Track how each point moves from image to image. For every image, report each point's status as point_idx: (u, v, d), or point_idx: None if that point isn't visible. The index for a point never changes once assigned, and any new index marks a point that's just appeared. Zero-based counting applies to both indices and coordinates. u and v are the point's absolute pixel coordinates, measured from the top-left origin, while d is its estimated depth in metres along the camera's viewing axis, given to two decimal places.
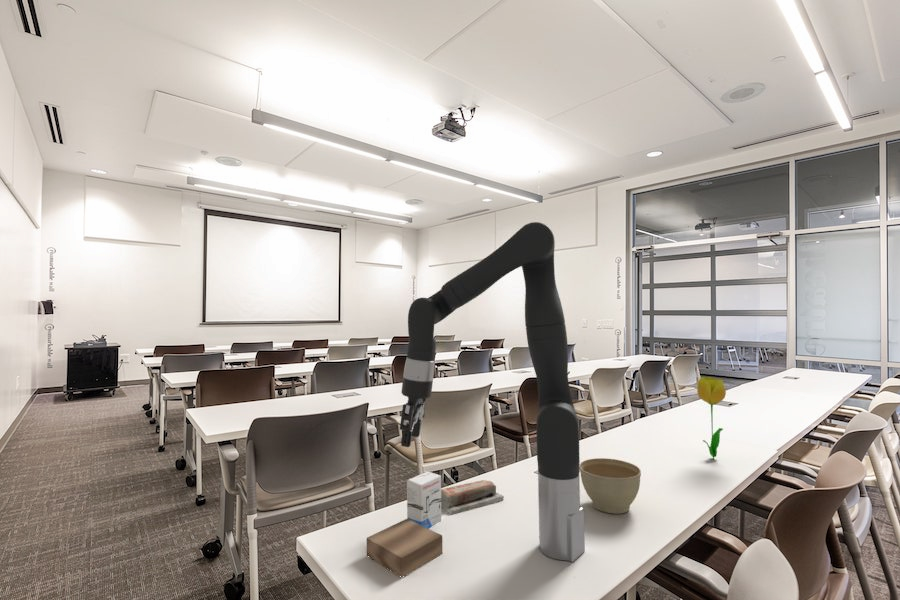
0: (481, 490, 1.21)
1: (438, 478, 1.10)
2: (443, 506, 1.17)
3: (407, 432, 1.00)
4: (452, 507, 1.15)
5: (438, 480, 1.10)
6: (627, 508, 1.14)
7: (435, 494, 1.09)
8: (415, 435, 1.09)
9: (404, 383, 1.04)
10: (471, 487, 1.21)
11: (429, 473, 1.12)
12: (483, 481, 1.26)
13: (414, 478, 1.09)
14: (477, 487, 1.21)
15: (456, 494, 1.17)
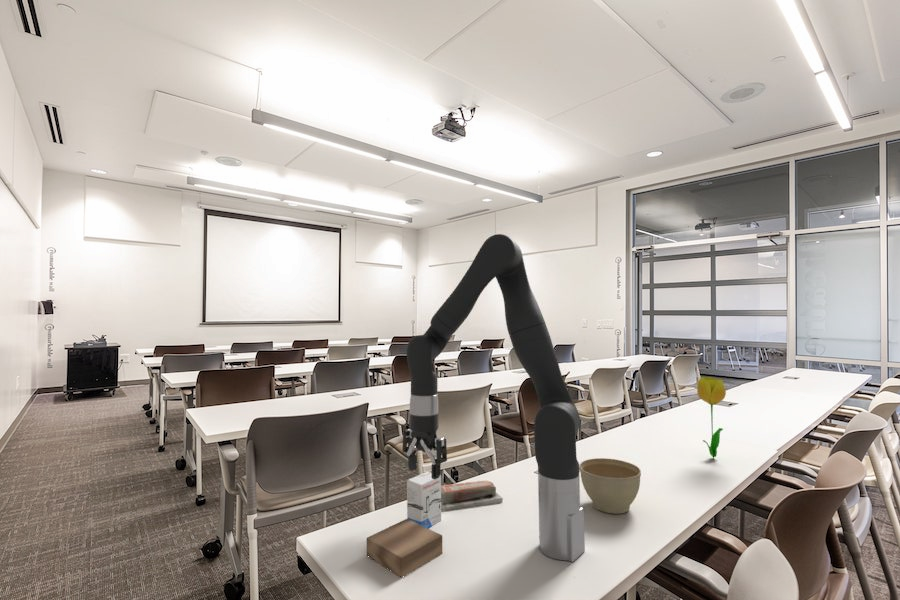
0: (478, 489, 1.21)
1: (438, 478, 1.10)
2: None
3: (439, 464, 1.06)
4: (446, 504, 1.17)
5: (438, 480, 1.10)
6: (627, 508, 1.14)
7: (435, 494, 1.09)
8: (414, 468, 1.12)
9: (423, 421, 1.06)
10: (469, 487, 1.22)
11: (429, 473, 1.12)
12: (485, 481, 1.26)
13: (414, 478, 1.09)
14: (475, 487, 1.22)
15: (451, 491, 1.19)
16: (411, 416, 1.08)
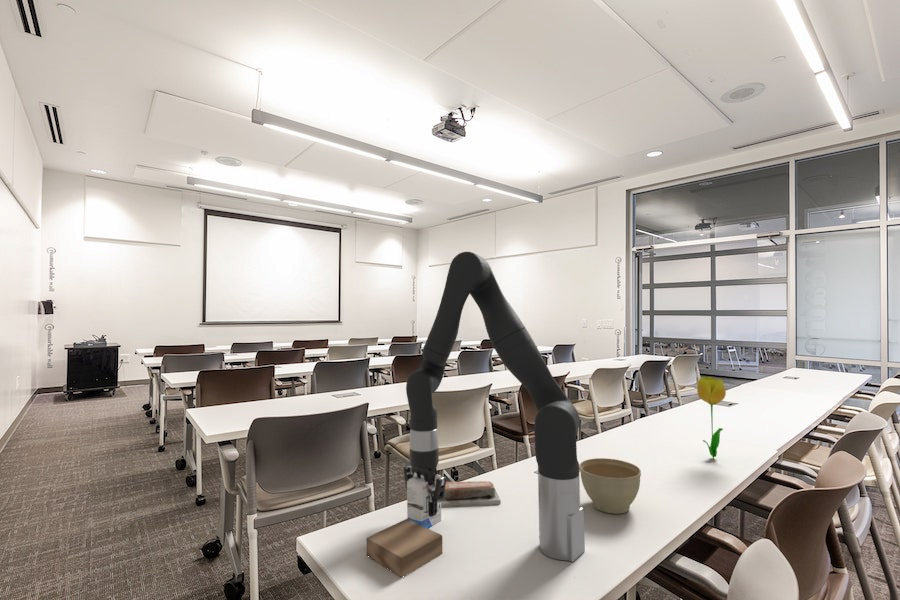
0: (476, 489, 1.21)
1: None
2: None
3: (436, 501, 1.07)
4: (442, 500, 1.20)
5: None
6: (627, 508, 1.14)
7: None
8: None
9: (423, 456, 1.06)
10: (467, 485, 1.22)
11: None
12: (486, 482, 1.26)
13: None
14: (473, 486, 1.22)
15: (448, 488, 1.21)
16: (411, 451, 1.08)
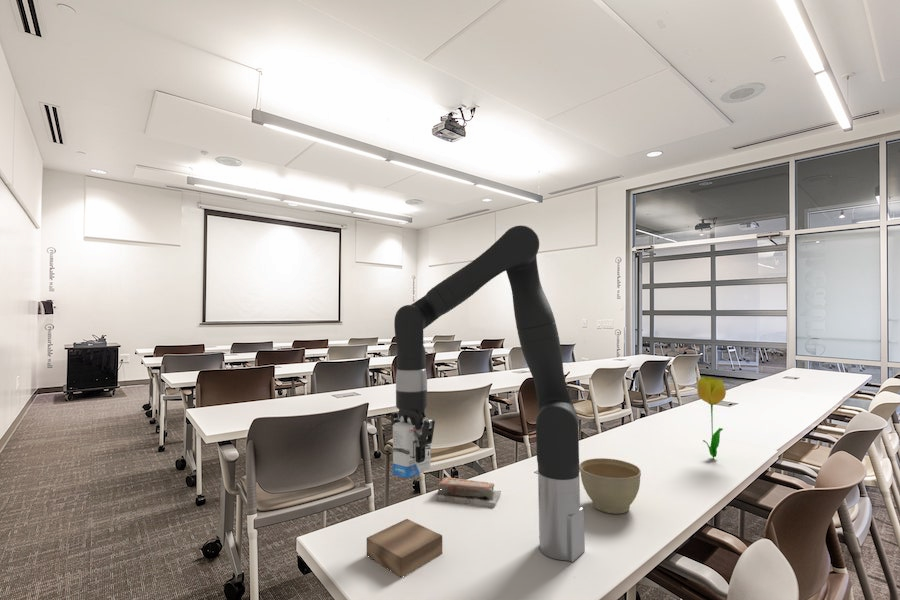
0: (473, 489, 1.22)
1: None
2: None
3: (423, 447, 0.99)
4: (440, 494, 1.24)
5: None
6: (627, 508, 1.14)
7: None
8: None
9: (410, 397, 0.98)
10: (466, 484, 1.24)
11: None
12: (488, 483, 1.24)
13: (401, 422, 1.01)
14: (471, 485, 1.23)
15: (447, 484, 1.24)
16: (397, 393, 1.00)
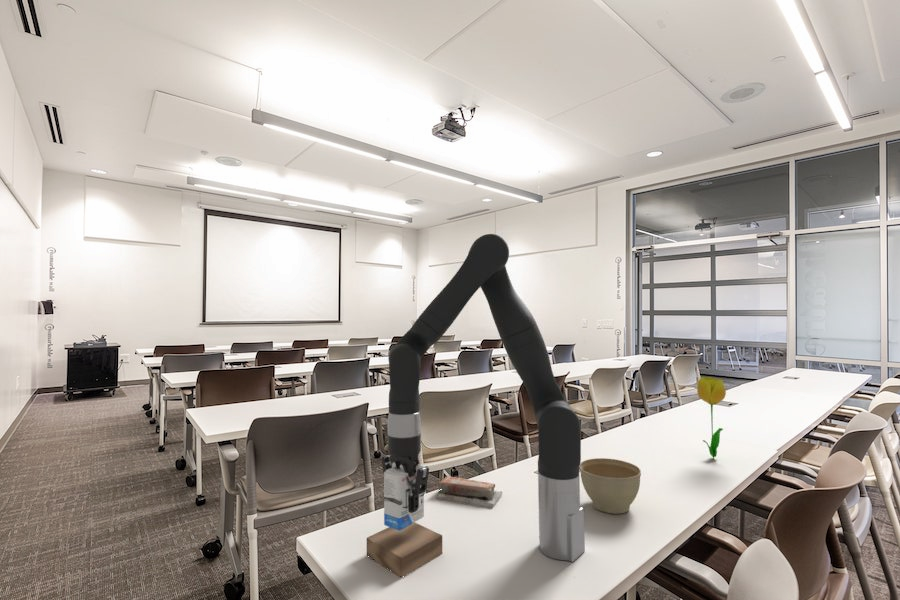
0: (473, 489, 1.22)
1: None
2: None
3: (417, 495, 0.93)
4: (441, 493, 1.25)
5: None
6: (627, 508, 1.14)
7: None
8: None
9: (403, 443, 0.92)
10: (466, 483, 1.24)
11: None
12: (489, 484, 1.24)
13: None
14: (471, 485, 1.23)
15: (447, 483, 1.25)
16: (389, 438, 0.94)
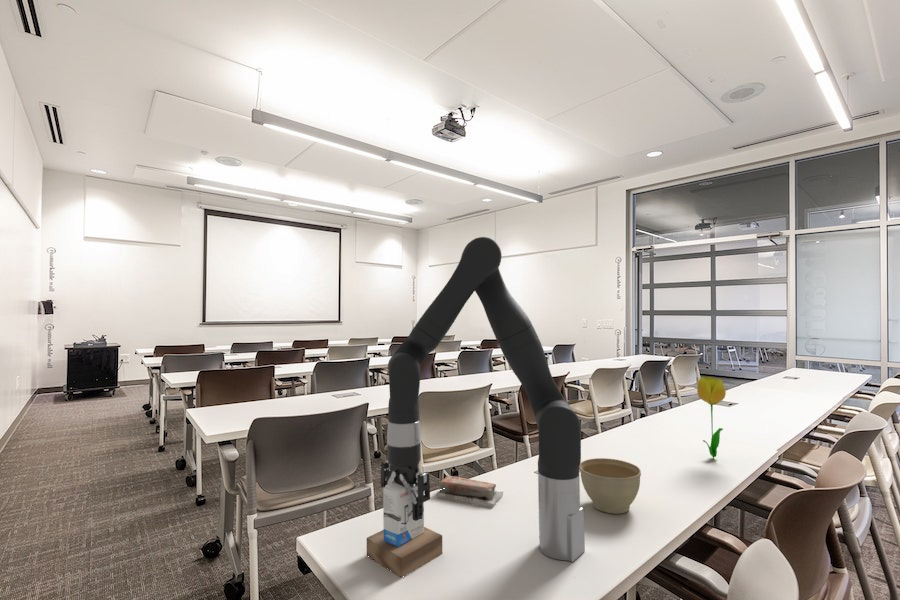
0: (473, 488, 1.22)
1: None
2: None
3: (421, 503, 0.92)
4: (441, 492, 1.25)
5: None
6: (627, 508, 1.14)
7: None
8: None
9: (402, 453, 0.92)
10: (467, 483, 1.24)
11: None
12: (489, 484, 1.24)
13: (392, 483, 0.95)
14: (471, 485, 1.23)
15: (448, 482, 1.25)
16: (389, 447, 0.94)
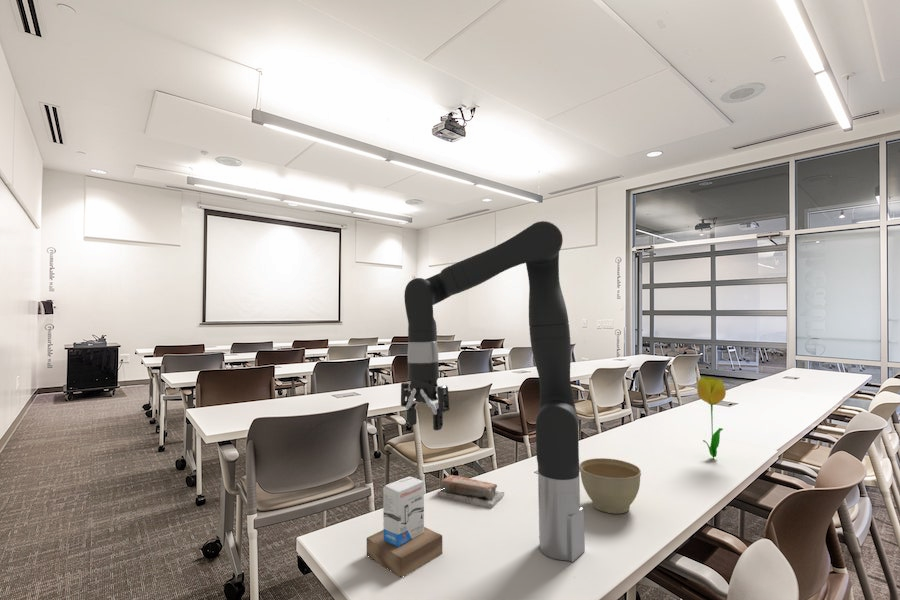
0: (473, 488, 1.22)
1: (420, 484, 0.96)
2: None
3: (441, 414, 0.99)
4: (442, 491, 1.26)
5: (420, 486, 0.96)
6: (627, 508, 1.14)
7: (415, 503, 0.95)
8: (414, 423, 1.05)
9: (423, 368, 0.99)
10: (467, 483, 1.24)
11: (411, 478, 0.98)
12: (490, 484, 1.24)
13: (392, 483, 0.95)
14: (472, 485, 1.23)
15: (449, 481, 1.26)
16: (409, 365, 1.01)
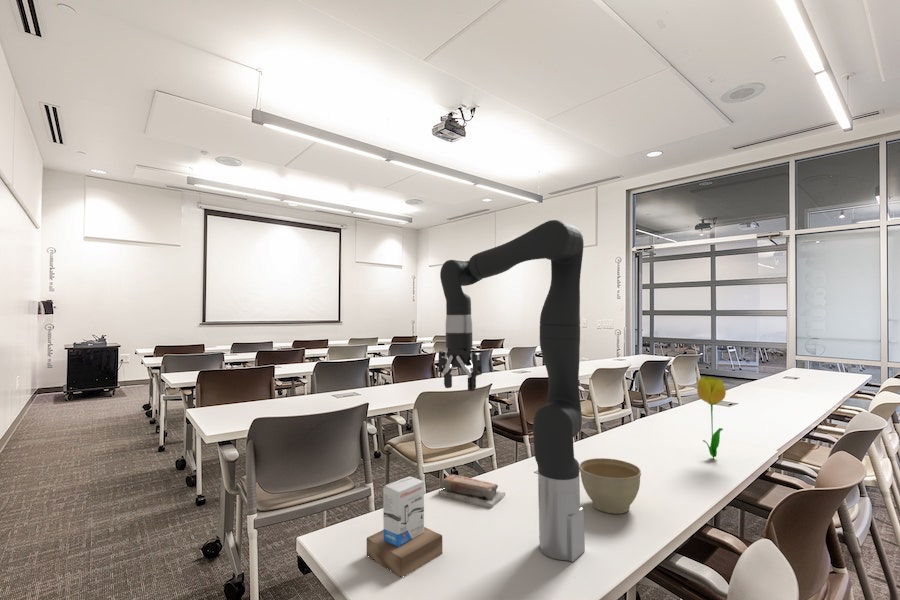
0: (473, 488, 1.22)
1: (420, 484, 0.96)
2: None
3: (475, 377, 1.14)
4: (443, 490, 1.27)
5: (420, 486, 0.96)
6: (627, 508, 1.14)
7: (415, 503, 0.95)
8: (449, 386, 1.21)
9: (459, 337, 1.15)
10: (468, 482, 1.25)
11: (411, 478, 0.98)
12: (490, 484, 1.24)
13: (392, 483, 0.95)
14: (472, 484, 1.23)
15: (450, 481, 1.27)
16: (447, 334, 1.16)
